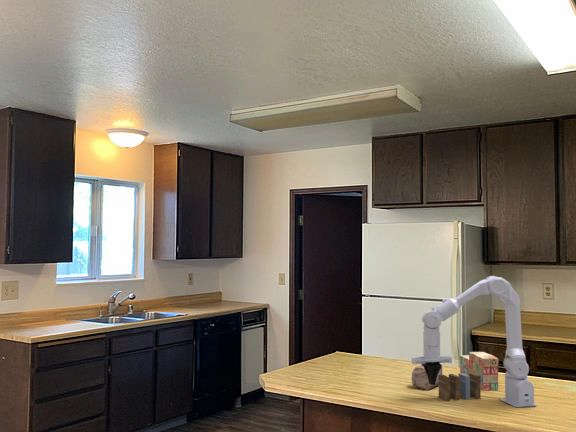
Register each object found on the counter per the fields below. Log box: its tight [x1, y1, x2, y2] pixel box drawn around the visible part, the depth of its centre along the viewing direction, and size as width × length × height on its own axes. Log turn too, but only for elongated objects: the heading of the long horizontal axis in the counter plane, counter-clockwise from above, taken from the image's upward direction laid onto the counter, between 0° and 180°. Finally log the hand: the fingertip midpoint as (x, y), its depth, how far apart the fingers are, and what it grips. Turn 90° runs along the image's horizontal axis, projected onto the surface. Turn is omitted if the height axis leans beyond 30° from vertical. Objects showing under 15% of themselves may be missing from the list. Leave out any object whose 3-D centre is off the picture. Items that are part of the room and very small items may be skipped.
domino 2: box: [448, 373, 461, 401], centre depth 204 cm, size 2×5×8 cm, turn 14°
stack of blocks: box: [459, 351, 499, 392], centre depth 225 cm, size 21×6×12 cm, turn 6°
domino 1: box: [438, 373, 451, 402], centre depth 203 cm, size 2×5×8 cm, turn 14°
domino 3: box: [469, 373, 482, 400], centre depth 206 cm, size 2×5×8 cm, turn 13°
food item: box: [411, 364, 443, 391], centre depth 220 cm, size 14×8×10 cm, turn 141°
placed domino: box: [457, 372, 471, 400], centre depth 205 cm, size 2×5×8 cm, turn 14°
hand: (432, 384), depth 202 cm, fingers closed
